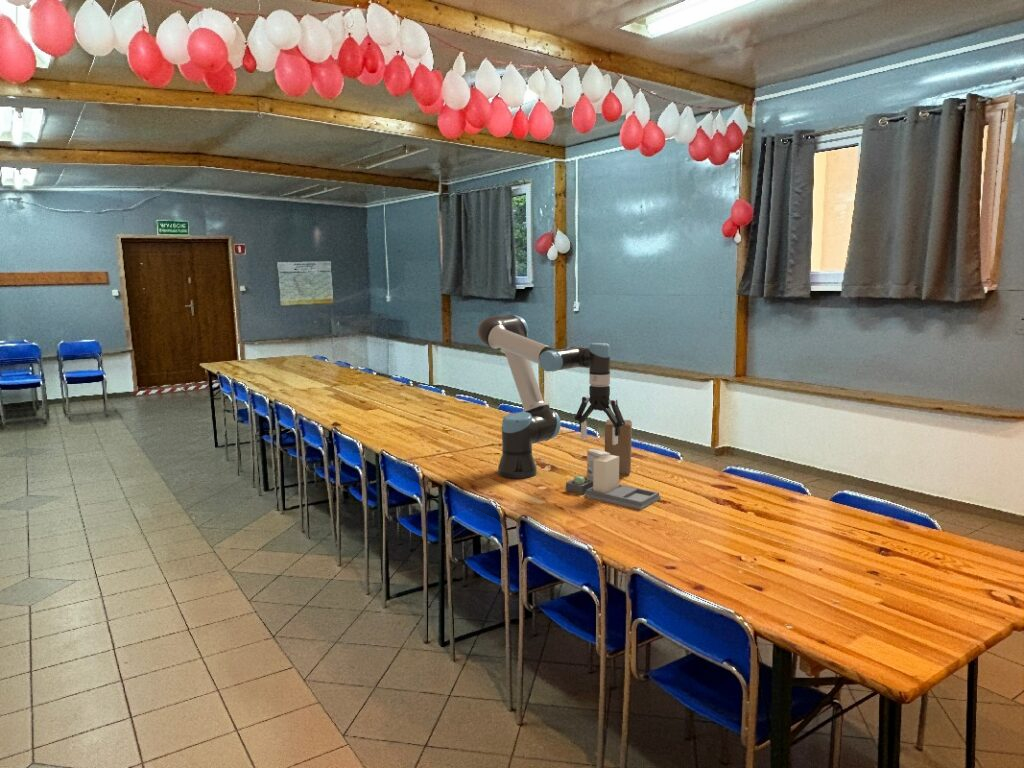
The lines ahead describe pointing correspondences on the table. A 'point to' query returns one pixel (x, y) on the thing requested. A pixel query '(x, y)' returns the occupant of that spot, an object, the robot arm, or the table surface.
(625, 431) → the block
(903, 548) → the table surface
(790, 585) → the table surface
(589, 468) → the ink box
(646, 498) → the pallet
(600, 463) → the billet
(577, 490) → the dark grey square tray
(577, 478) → the button
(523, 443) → the robot arm
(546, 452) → the table surface
